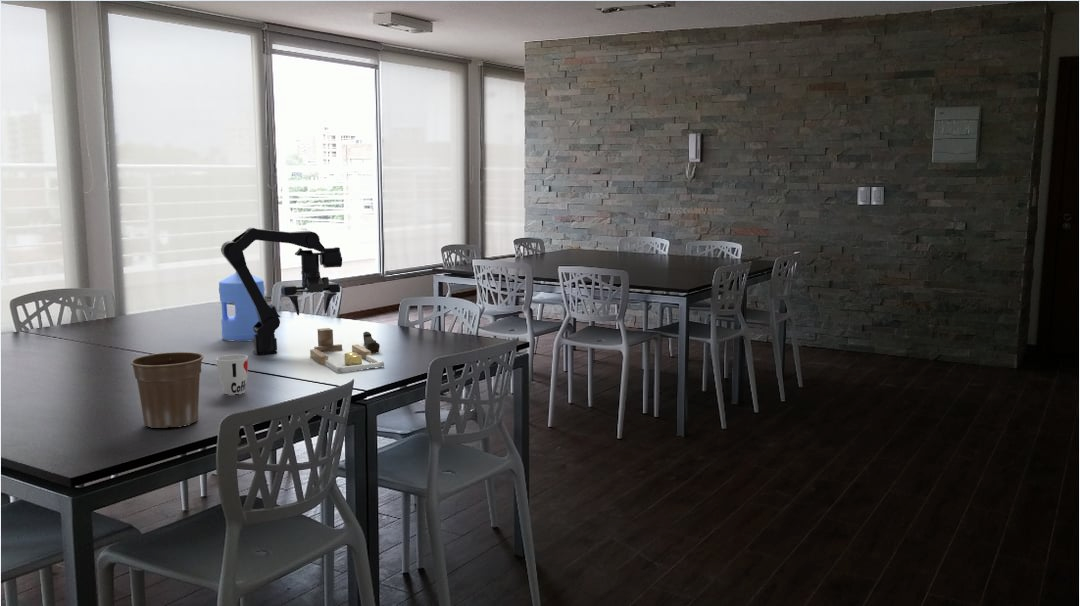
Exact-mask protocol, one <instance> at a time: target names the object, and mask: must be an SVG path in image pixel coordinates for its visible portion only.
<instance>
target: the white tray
mask: <svg viewBox="0 0 1080 606" xmlns="http://www.w3.org/2000/svg"><path fill="white" fill-rule="evenodd" d="M365 360H366V361H367V360H368V361H367V362H369V361H370V362H369V363H362V364H361V365H353V366H346V365H344V366H340V365H338V364H336V363H335V362H333V360H330V359H328V360H325V363H326V364H325V366H327V367H328V368H330V369H332V370H333V372H336V373H338V374H342V373H348V372H349V373H350V371H351V372H356V371H355V370H359V371H362V370H361V369H367V368H375V367H382V366H384V367H385V363H384V361H381V360H380V359H378V358H376V357H374V356H372V354H371V355H366V359H365ZM371 362H372V363H371ZM375 369H376V368H375ZM367 370H368V369H367Z"/></svg>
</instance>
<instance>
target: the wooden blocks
mask: <svg viewBox="0 0 1080 606" xmlns="http://www.w3.org/2000/svg"><path fill="white" fill-rule="evenodd" d="M351 351H352V352H355V353H358V355H361V356H362V359H363V358H364V360H366V355H371V356H372V353H371V351H370V350H368V349H367V347H366V348H365V346H364V347H363V346H361V345H360V344H351ZM309 352H310V353H309V354H310V359H313V360H314V361H316V362H317V363H319V364H320V365H323V366H324V365H326V363H325V360H329V355H327V354H325V352H320V351H319V350H317V349H314V348H313V349H309Z"/></svg>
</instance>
